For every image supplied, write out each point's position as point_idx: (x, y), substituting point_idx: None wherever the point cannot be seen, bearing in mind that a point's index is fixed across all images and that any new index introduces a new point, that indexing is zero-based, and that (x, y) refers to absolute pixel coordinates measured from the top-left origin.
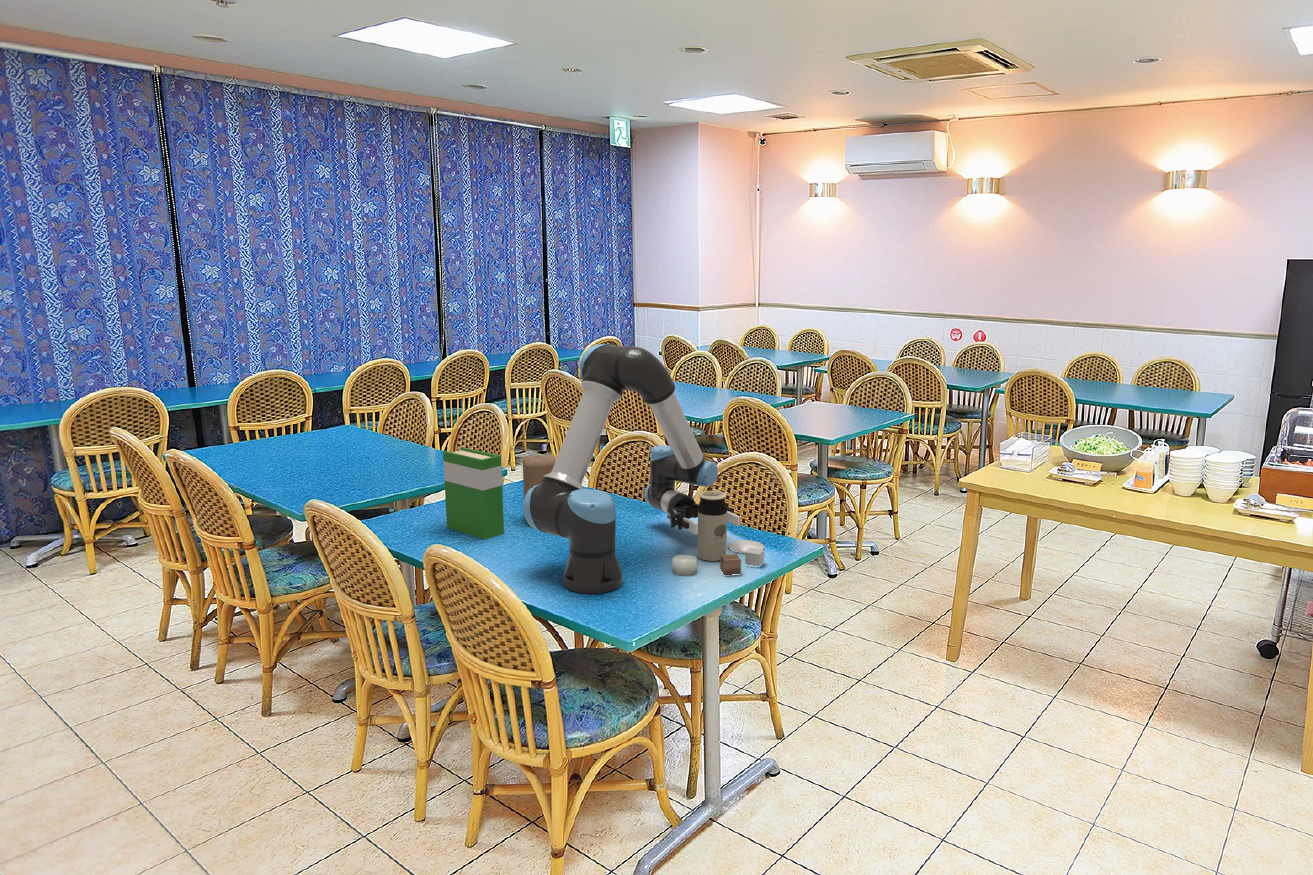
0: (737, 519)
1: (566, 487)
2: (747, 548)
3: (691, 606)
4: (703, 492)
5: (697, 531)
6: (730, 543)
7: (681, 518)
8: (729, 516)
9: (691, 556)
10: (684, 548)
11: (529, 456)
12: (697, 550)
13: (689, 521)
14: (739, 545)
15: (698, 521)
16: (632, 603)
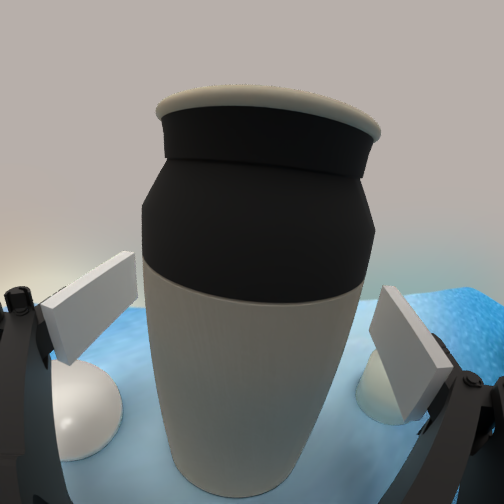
0: (134, 265)
1: None
2: (80, 390)
3: (408, 299)
4: (312, 98)
5: (373, 320)
6: (60, 455)
7: (462, 374)
8: (92, 302)
9: (380, 374)
10: None
11: None
12: (293, 466)
13: (418, 319)
14: (65, 420)
15: (348, 335)
16: (484, 327)
